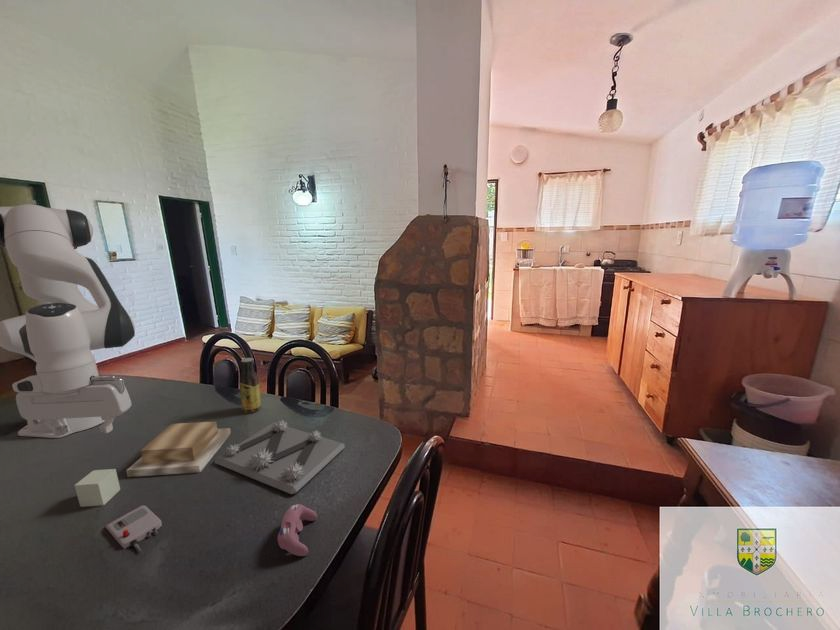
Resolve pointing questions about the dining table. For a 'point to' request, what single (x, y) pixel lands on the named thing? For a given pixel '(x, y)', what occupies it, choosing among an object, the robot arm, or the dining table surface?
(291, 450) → the decorative plate
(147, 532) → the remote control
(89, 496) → the sage block
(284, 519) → the video game controller
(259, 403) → the sauce bottle
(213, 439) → the stacking base
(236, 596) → the dining table surface
